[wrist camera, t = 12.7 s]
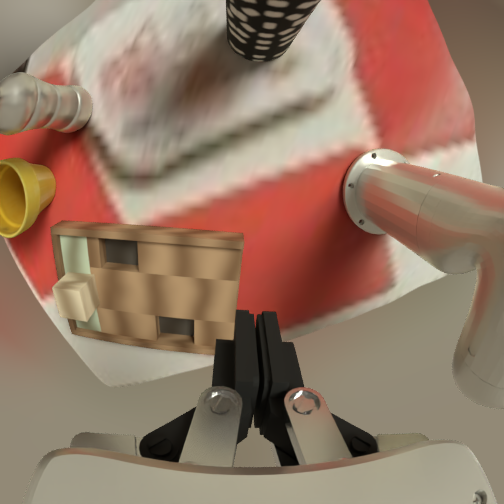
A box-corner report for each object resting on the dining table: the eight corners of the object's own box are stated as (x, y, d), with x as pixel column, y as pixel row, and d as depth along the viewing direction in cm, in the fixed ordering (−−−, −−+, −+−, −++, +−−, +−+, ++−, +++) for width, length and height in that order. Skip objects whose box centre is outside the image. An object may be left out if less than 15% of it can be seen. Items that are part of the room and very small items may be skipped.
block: (94, 274, 36) (79, 291, 31) (99, 303, 38) (87, 321, 33) (68, 271, 35) (52, 287, 31) (74, 299, 37) (60, 317, 33)
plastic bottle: (66, 139, 30) (-37, 155, 12) (58, 100, 28) (-41, 93, 9) (102, 121, 30) (0, 118, 12) (93, 80, 28) (-3, 51, 9)
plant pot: (70, 156, 32) (29, 165, 23) (63, 223, 35) (26, 247, 26) (24, 149, 30) (-17, 157, 21) (19, 210, 33) (-18, 229, 24)
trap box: (243, 233, 38) (244, 241, 35) (231, 342, 45) (232, 355, 42) (62, 220, 35) (50, 227, 32) (79, 322, 42) (71, 333, 39)
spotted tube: (229, 9, 26) (230, -84, 7) (292, 15, 26) (340, -68, 8) (224, 59, 29) (217, -21, 10) (289, 65, 30) (347, -3, 11)
